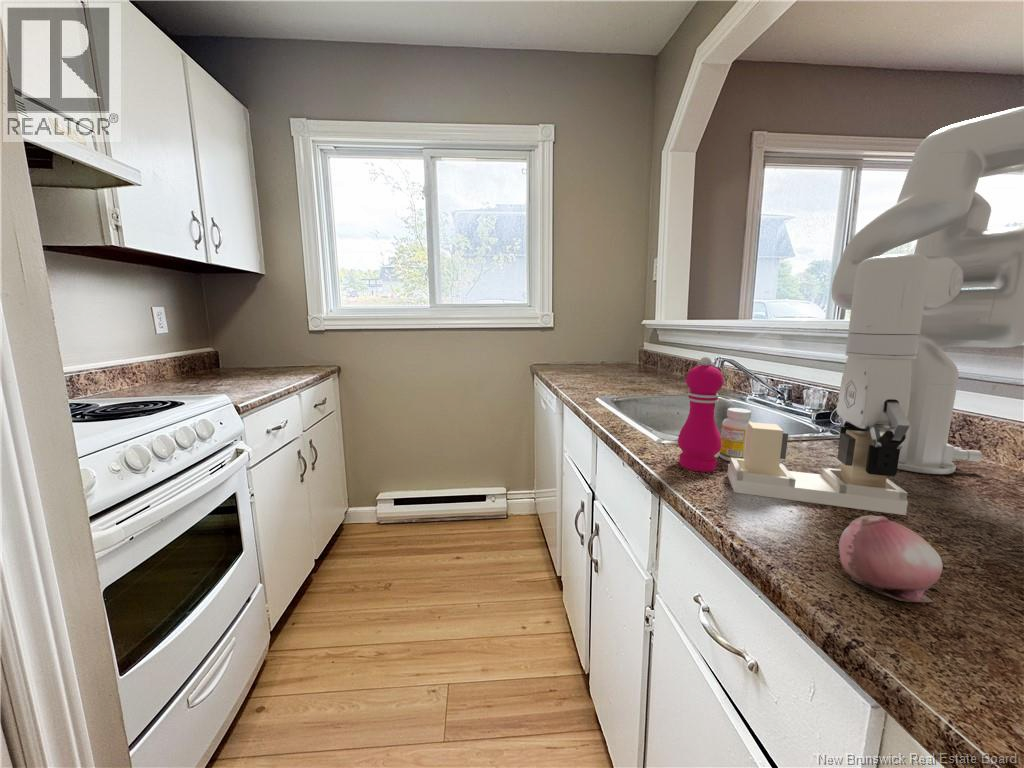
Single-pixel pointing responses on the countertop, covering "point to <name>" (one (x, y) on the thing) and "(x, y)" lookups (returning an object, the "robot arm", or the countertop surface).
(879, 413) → the robot arm
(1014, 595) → the countertop surface
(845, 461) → the block
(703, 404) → the pepper mill
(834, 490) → the rail
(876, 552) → the pink shallot
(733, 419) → the supplement bottle
